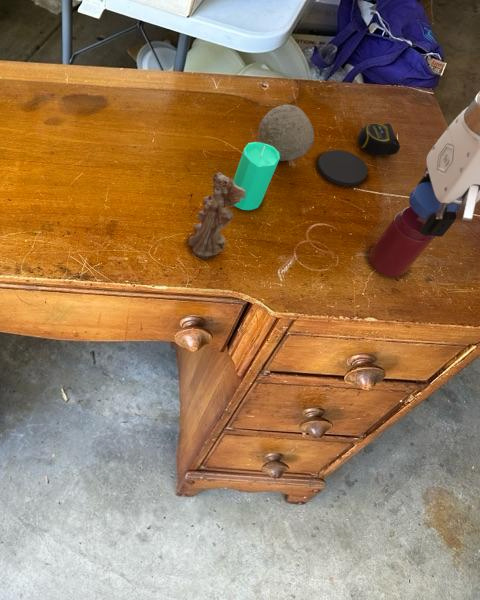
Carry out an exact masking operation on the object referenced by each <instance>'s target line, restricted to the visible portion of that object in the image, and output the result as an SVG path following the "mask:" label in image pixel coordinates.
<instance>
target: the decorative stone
mask: <svg viewBox="0 0 480 600" xmlns="http://www.w3.org/2000/svg"><path fill="white" fill-rule="evenodd" d="M257 142H259V143H265V144H268V145H270V146H273V147H274V148H275V149H276V150H277V151H278V152H279V156H280V159H279V162H285V161H293V160H296V159H298V158H300V157H302V156H304V155H305V154H307V153H308V152H309V151H310V149H311V148H312V146H313V144H314V143H315V131H314V127H313V124H312V122H311V120H310V118H309V117H308V115H307V114H306V113H305V112H304V110H302V109H301V108H300V107H299V106H296V105H293V104H289V103H288V104H286V103H285V104H281V105H279V106H275V107H273V108H272V109H270V110H269V111H267V113H266V114H265V116H263V118H262V119H261V120H260V123H259V126H258V131H257Z"/></svg>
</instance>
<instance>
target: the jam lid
mask: <svg viewBox="0 0 480 600" xmlns="http://www.w3.org/2000/svg"><path fill="white" fill-rule="evenodd" d="M417 185H418V184H417ZM417 185H416V186H417ZM416 186H415V188H413V190H412V191H411V193H410V195H409V197H408V203H409V207H411V208H412V209H413V211H414V212H415V213H416V214H418V215H419V216H421V217H422V218H424V219H426V220H428V219H429V218H430V216H431V215H432V214H433V213H437V211H438V209H439V207H440V204H441V202H439V201H438V200H437V198H436V196H435V193H434V190H433V186H432V183H431V182H424V183H421V184H419V185H418V186H417V187H416ZM459 198H462V196H461V197H459ZM456 207H457V204H451V203H450V204H449V206H448V209H447V211H448V212H454V211H455V209H456Z"/></svg>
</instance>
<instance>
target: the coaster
mask: <svg viewBox="0 0 480 600" xmlns="http://www.w3.org/2000/svg"><path fill="white" fill-rule="evenodd" d="M317 169H318V171H319V173H320V174H321V176H322V177H324V179H326V180H328V182H331V183H333V184H335V185H339V186H343V187H353V186H357V185H359V184H361V183H363V182H364V181H365V179H366V178H367V176H368V167H367V165H366V163H365V161H364V160H363V159H361V157H359V156H358V155H356V154H354V153H352V152H350V151H346V150H341V149H331V150H328V151H325V152H323V153H322V154H321V155H320V156H319V159H318V160H317Z"/></svg>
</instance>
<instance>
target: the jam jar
mask: <svg viewBox="0 0 480 600" xmlns="http://www.w3.org/2000/svg"><path fill="white" fill-rule="evenodd" d="M426 222H427V220H426V219H424V218H422V217H421V216H419V215H418V214H416V213H415V212H414V211H413V209H412V208H411V206H406V207H404V208H403V209H402V210H401V211H400V212H398V213H397V214H395V217H394V218H393V219H392V220H391V222H390V223H389V224H388V226H387V227H386V229H385V230H384V232H383V233H382V234H381V235H380V237H379V239H378V240H377V241H376V243H375V244H374V246H373V247H372V249H371V250H370V251H369V252H368V261H369V263H370V265H371V267H372V268H373V269H374V270H376V271H377V272H379V273H380V274H382V275H384V276H387V277H401V276H403V275H405V274H406V273H407V272H408V270H409V269H410V268H411V267H412V266H413V264H414V263H415V262H416V261H417V260H418V258H420V256H421V255H422V254H423V252H424V251H425V250H426V249H427V247H428V246H429V245H430V244H431V243H432V242H433V240H434V239H435V238H436V237H437V236H430V235H422V234H420V229H421V228H422V227H423V225H424V224H425V223H426Z"/></svg>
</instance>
